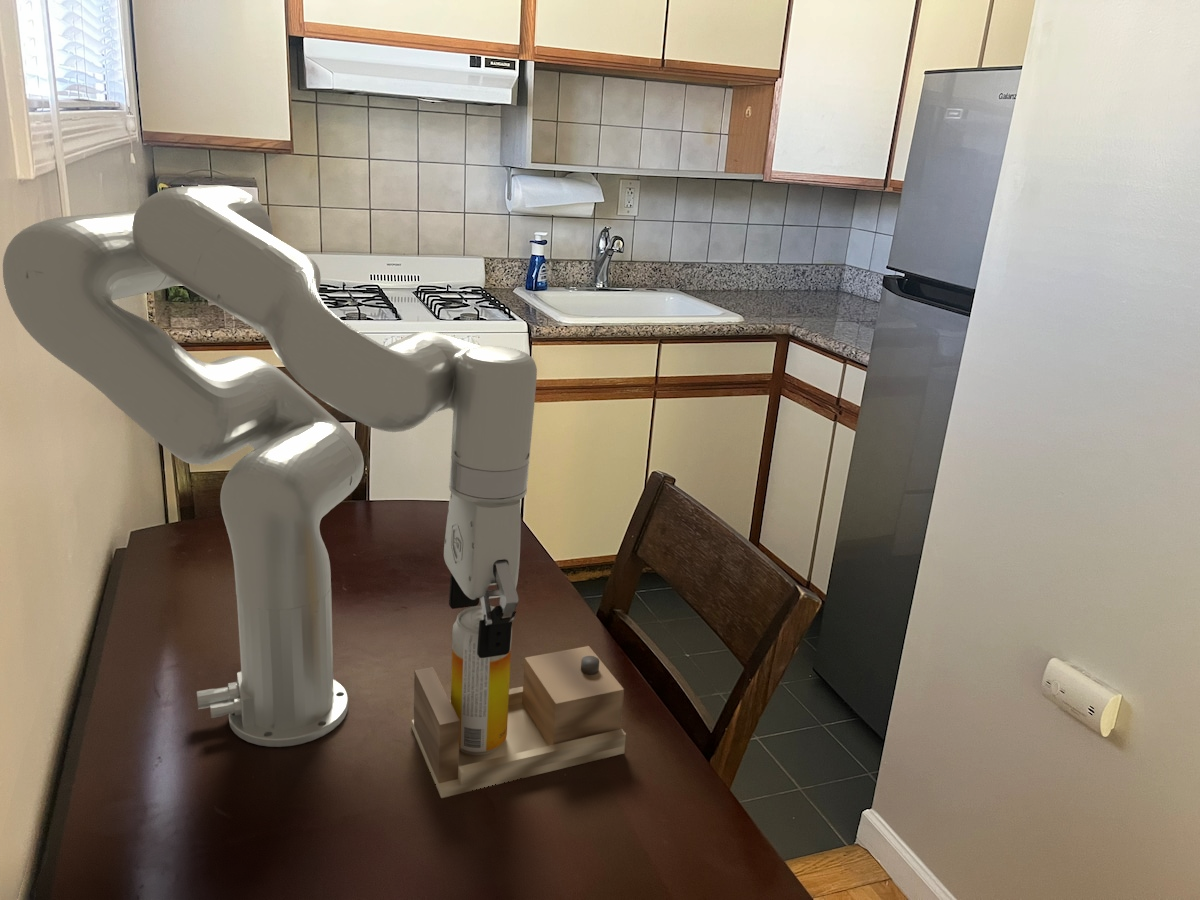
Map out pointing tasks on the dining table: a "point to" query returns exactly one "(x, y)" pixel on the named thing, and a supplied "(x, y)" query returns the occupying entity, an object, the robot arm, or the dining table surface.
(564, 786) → the dining table surface
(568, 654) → the block
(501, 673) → the beer can
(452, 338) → the robot arm
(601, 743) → the vise base
